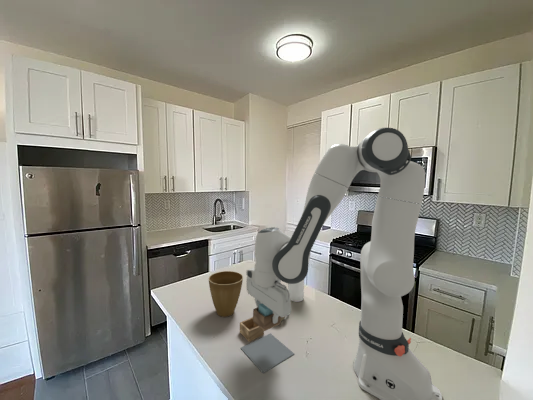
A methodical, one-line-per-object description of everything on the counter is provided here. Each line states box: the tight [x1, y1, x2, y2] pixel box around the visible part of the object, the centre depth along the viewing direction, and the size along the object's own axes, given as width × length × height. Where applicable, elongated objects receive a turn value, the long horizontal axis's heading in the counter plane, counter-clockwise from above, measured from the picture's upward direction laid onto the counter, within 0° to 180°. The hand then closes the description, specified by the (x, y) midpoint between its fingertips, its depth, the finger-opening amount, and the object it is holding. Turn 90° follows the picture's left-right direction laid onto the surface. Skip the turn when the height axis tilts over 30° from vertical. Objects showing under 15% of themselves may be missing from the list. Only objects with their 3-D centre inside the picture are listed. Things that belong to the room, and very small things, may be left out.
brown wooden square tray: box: [252, 307, 282, 332], centre depth 78 cm, size 7×7×4 cm
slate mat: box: [240, 333, 295, 374], centre depth 78 cm, size 13×13×1 cm
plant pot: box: [208, 270, 244, 318], centre depth 102 cm, size 15×15×16 cm
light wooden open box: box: [239, 316, 265, 343], centre depth 88 cm, size 7×7×4 cm
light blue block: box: [259, 304, 273, 317], centre depth 77 cm, size 4×4×6 cm
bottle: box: [287, 279, 305, 302], centre depth 114 cm, size 8×8×30 cm
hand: (266, 316), depth 78 cm, fingers closed on brown wooden square tray, 7 cm apart
